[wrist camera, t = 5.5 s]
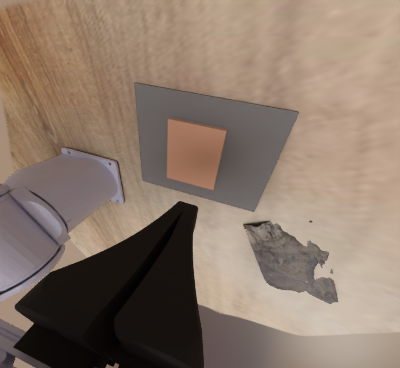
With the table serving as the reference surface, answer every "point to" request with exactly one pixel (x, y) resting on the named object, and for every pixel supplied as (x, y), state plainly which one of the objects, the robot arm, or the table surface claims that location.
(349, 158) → the table surface
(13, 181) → the robot arm
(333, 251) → the table surface
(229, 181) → the mat
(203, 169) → the tile
